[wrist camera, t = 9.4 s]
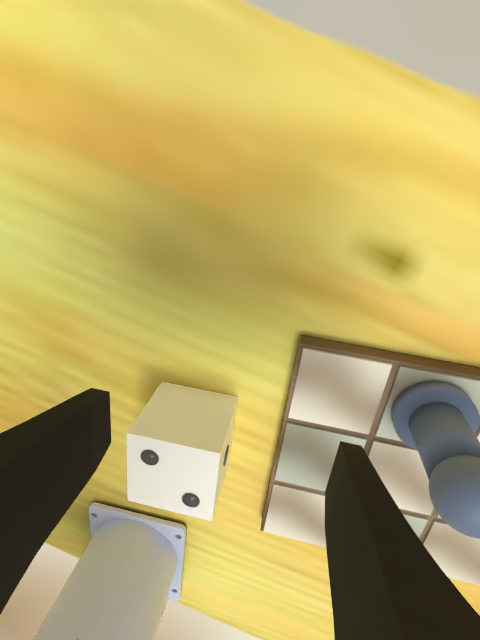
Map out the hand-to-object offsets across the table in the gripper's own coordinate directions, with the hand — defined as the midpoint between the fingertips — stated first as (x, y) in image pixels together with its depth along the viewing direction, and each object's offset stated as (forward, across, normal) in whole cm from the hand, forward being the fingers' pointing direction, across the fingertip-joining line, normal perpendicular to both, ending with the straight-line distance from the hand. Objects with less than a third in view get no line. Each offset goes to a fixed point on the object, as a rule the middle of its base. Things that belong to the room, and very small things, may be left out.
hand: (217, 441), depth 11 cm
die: (+10, +3, +8) cm, 13 cm away
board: (+10, -10, +8) cm, 16 cm away
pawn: (+9, -10, +3) cm, 14 cm away
